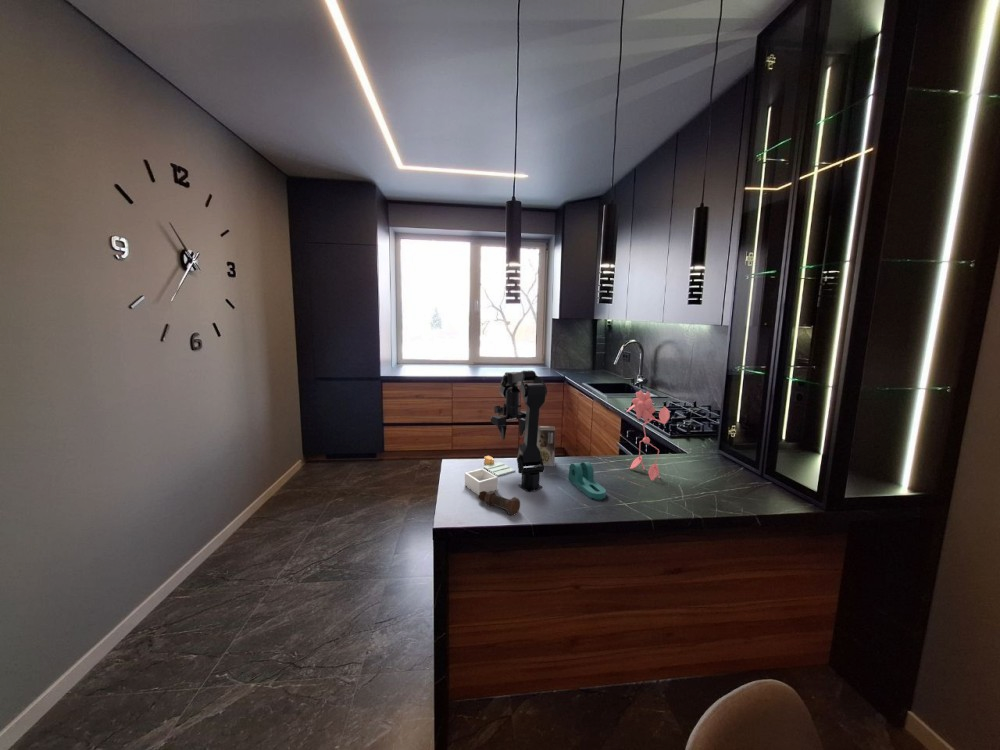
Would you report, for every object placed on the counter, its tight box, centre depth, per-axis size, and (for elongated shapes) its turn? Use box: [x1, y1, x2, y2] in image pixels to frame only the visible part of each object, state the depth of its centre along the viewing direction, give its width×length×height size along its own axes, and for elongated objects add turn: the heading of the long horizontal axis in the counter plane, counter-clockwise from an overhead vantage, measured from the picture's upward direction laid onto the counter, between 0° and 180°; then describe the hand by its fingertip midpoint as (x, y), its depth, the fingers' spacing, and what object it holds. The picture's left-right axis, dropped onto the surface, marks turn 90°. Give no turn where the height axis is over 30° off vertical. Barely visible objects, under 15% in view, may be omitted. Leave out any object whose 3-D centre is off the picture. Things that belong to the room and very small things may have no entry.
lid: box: [482, 455, 516, 477], centre depth 163 cm, size 15×9×3 cm, turn 35°
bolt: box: [477, 491, 521, 516], centre depth 130 cm, size 6×5×15 cm
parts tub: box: [464, 467, 499, 496], centre depth 144 cm, size 10×8×5 cm
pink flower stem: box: [621, 389, 671, 487], centre depth 155 cm, size 15×26×35 cm, turn 17°
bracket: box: [568, 461, 607, 500], centre depth 145 cm, size 18×7×8 cm, turn 17°
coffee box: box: [535, 425, 556, 467], centre depth 168 cm, size 9×6×16 cm
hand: (512, 437), depth 166 cm, fingers open, 9 cm apart
